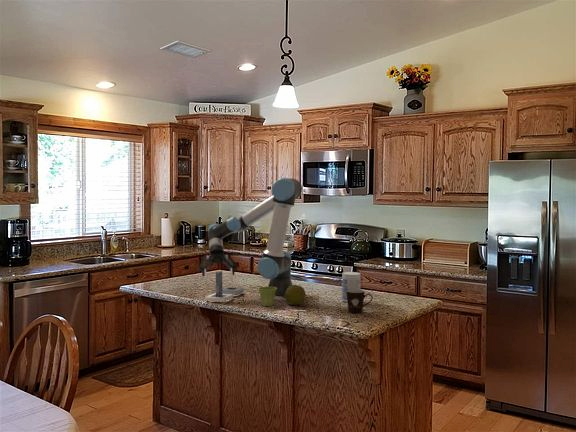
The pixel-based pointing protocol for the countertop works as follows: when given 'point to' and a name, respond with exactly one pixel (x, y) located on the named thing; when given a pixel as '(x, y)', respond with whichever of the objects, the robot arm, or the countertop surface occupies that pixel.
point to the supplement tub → (350, 283)
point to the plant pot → (267, 295)
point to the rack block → (223, 298)
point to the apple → (295, 295)
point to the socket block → (232, 290)
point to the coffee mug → (356, 300)
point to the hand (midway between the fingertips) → (219, 280)
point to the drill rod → (218, 284)
